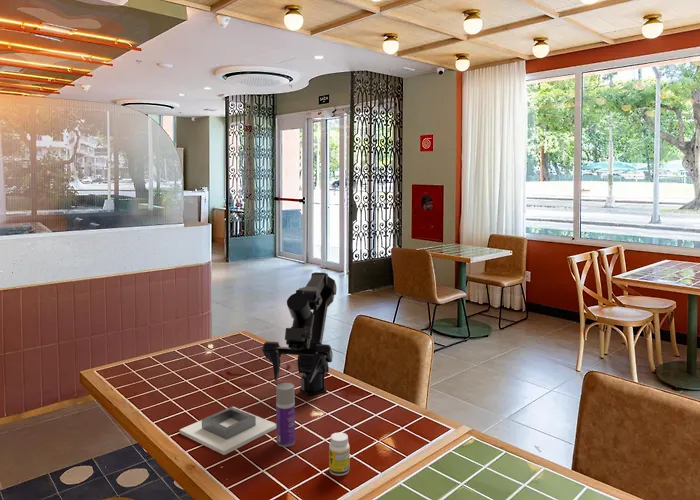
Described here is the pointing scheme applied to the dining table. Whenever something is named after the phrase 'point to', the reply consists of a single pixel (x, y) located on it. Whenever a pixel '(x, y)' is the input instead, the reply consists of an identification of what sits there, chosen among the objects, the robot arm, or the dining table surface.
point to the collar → (227, 432)
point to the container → (285, 414)
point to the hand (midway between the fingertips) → (292, 381)
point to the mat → (232, 443)
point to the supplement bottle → (339, 454)
